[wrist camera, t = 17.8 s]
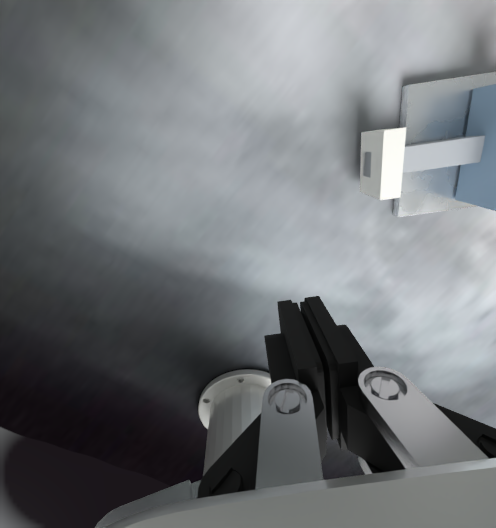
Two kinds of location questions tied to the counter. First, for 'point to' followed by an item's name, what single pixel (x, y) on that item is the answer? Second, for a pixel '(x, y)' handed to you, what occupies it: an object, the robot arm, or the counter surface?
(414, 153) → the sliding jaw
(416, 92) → the vise
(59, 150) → the counter surface
